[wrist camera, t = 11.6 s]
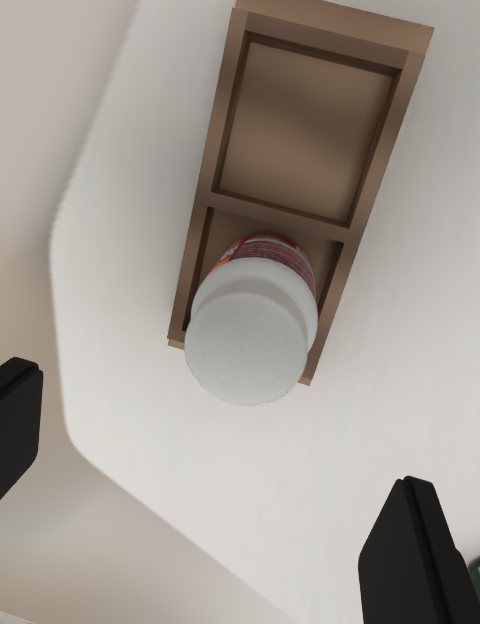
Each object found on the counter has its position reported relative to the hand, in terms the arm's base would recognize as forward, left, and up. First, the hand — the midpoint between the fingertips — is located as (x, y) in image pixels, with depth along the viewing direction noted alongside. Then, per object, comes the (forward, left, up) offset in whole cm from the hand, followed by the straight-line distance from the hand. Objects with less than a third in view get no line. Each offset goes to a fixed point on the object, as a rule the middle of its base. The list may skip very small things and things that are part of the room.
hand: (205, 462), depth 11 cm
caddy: (-4, 0, -20) cm, 20 cm away
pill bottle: (0, 0, -19) cm, 19 cm away
